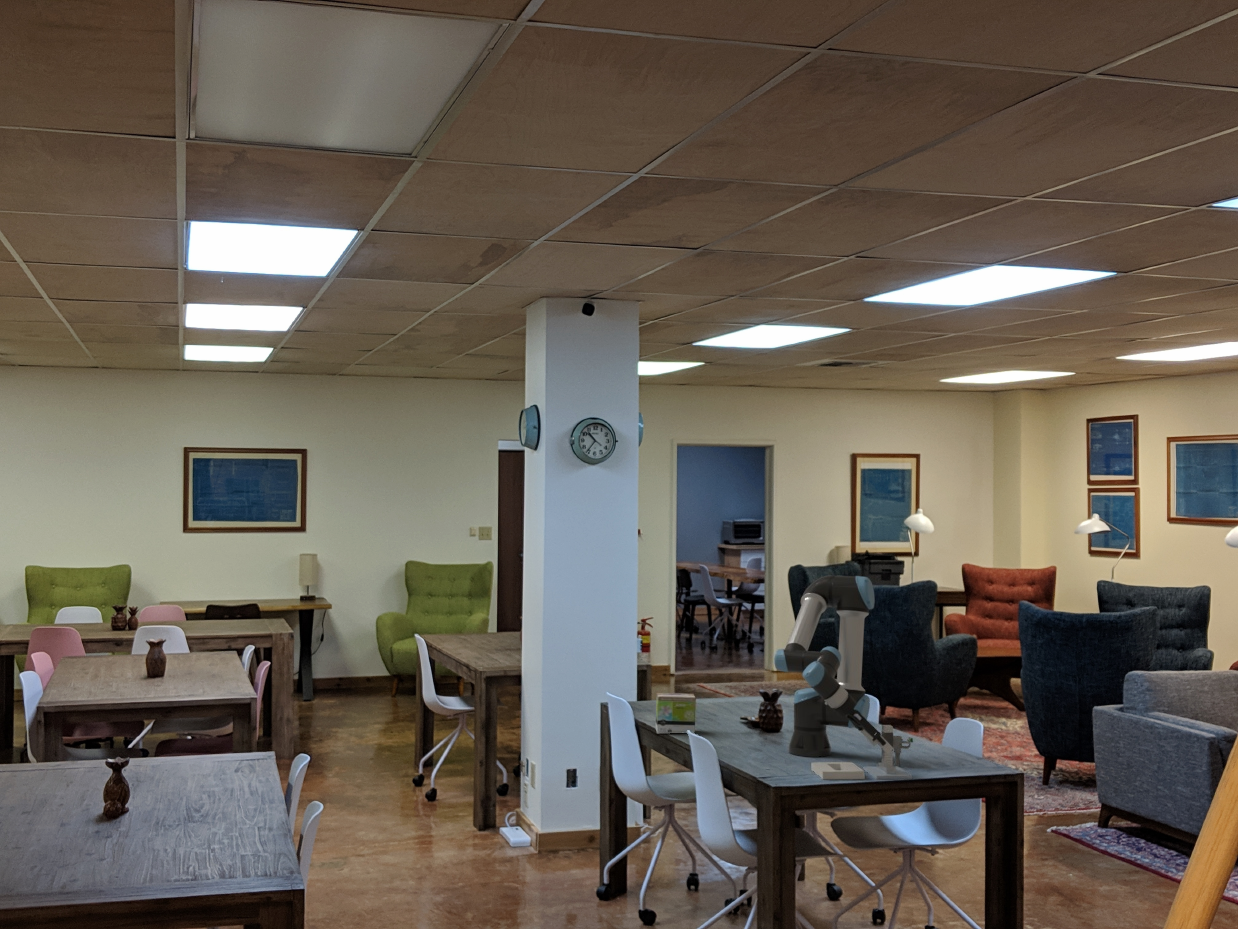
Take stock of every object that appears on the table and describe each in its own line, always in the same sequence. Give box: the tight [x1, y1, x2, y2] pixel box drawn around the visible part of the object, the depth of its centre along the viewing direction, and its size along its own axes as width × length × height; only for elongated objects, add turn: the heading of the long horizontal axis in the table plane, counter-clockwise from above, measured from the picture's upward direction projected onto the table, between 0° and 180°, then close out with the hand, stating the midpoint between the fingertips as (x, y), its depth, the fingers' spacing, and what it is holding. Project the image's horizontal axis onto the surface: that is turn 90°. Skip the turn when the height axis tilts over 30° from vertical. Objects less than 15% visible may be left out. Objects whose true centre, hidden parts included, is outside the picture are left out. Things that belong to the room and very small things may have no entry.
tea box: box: [655, 692, 697, 734], centre depth 456 cm, size 15×10×15 cm
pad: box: [862, 766, 913, 780], centre depth 386 cm, size 14×12×1 cm
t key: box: [878, 724, 897, 774], centre depth 387 cm, size 8×3×15 cm, turn 6°
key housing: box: [810, 761, 866, 780], centre depth 385 cm, size 14×14×2 cm
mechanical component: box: [893, 735, 914, 767], centre depth 400 cm, size 3×10×10 cm, turn 78°
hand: (883, 747), depth 386 cm, fingers open, 13 cm apart
